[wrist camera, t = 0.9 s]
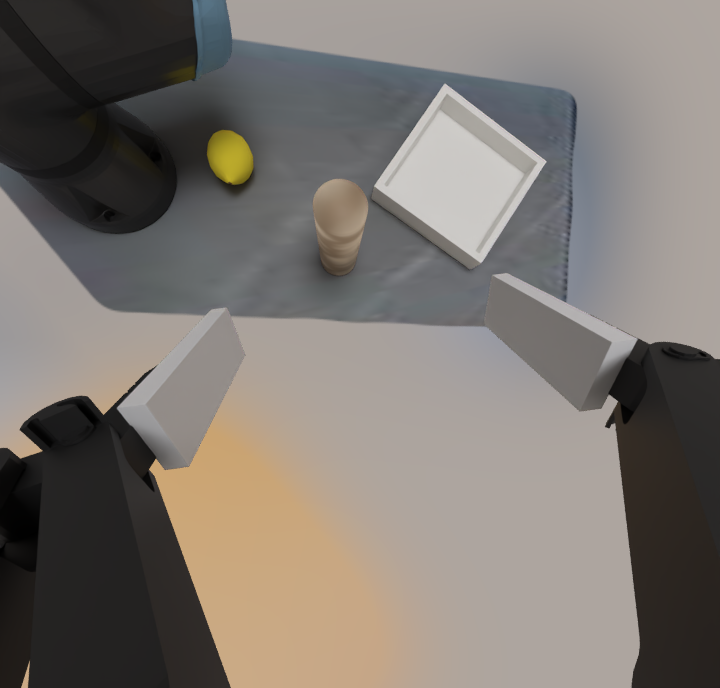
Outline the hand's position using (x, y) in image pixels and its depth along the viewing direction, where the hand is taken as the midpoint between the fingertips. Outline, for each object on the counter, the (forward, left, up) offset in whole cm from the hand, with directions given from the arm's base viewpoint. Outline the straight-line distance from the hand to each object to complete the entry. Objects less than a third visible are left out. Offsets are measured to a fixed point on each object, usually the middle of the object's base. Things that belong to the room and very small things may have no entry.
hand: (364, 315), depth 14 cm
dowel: (-7, +9, -24) cm, 27 cm away
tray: (+1, +28, -24) cm, 37 cm away
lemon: (-25, +11, -25) cm, 37 cm away
